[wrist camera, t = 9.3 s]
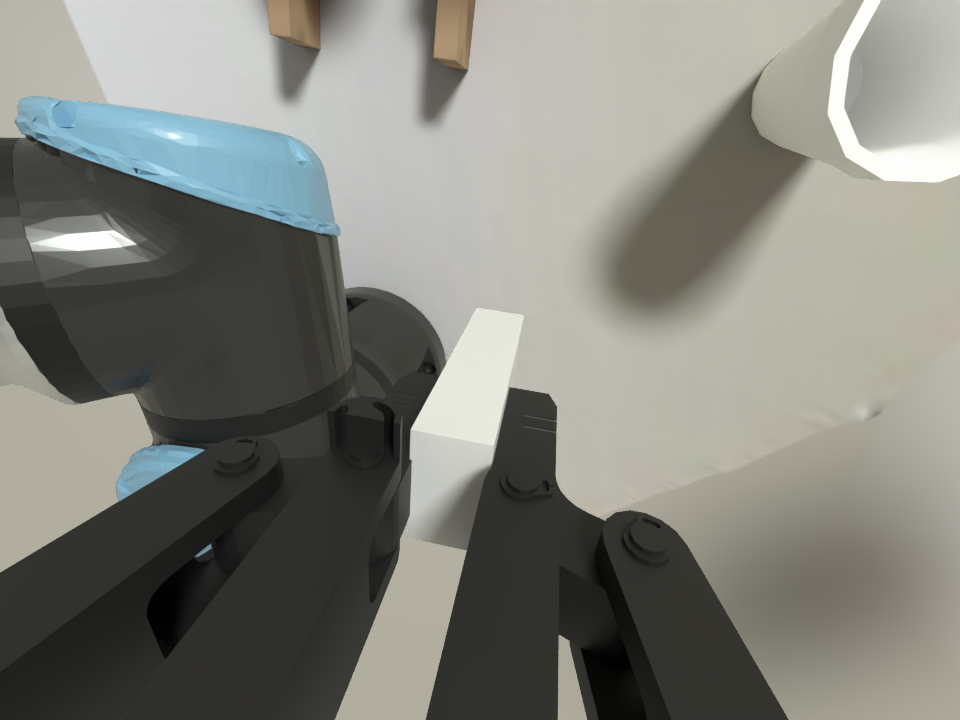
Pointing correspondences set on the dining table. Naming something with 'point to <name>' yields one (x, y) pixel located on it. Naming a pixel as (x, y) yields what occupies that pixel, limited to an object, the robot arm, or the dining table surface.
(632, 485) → the dining table surface
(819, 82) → the foam cup
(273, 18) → the chute
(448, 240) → the dining table surface
